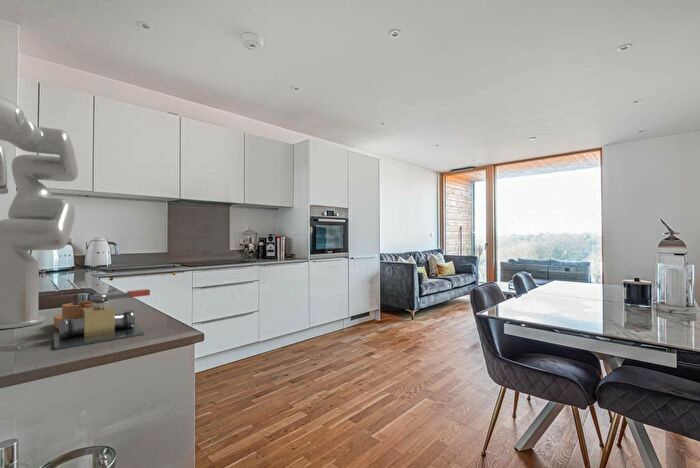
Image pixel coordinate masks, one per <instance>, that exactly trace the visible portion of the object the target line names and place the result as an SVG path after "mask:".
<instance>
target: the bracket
mask: <svg viewBox="0 0 700 468" xmlns="http://www.w3.org/2000/svg"><path fill="white" fill-rule="evenodd" d="M89 307H93V302H91V301H90V300H89V301H87V300H86V301H78V302H77V304H75V305H74V302H70V303H65V304H62V305H61V313H59V314H57V315H53V327H54V328H56V329H58V330H59V321H60V319H64V318H69V319H77V318H83V308H89Z"/></svg>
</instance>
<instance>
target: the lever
mask: <svg viewBox="0 0 700 468" xmlns="http://www.w3.org/2000/svg"><path fill="white" fill-rule="evenodd" d="M89 296H90V299H89V301H91V302H98V301H104V302H105V301H111V300H118V299H119V300H120V299H126V298H127V299H130V298H137V297H145V296H146V297H147V296H151V290H150V289H148V288H147V289H135V290H128V291H125V292H119V293H118V292H117V293H108V294H107V293H97V294H91V295H89Z"/></svg>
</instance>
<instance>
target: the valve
mask: <svg viewBox="0 0 700 468" xmlns="http://www.w3.org/2000/svg"><path fill="white" fill-rule="evenodd" d="M144 332H145V331H143V330H142V329H141V328H140V327H139V326H138V325H137V324H136V315H135V312H134V310H133V309H129V310H125V311H124V312H117V313H116V308H115V307H114V306H113V305H112V304H109V305H105V301H98V302H93V307H89V308H83V318H77V319H69V318H64V319H60V321H59V329H58V332H53V344H54V345H53V347H54V351H55V350H56V351H57V350H62V349H67V348H73V347H80V346H85V345H92V344H97V343H98V344H99V343H104V342H108V341H114V340H119V339H120V340H121V339H127V338H133V337H138V336H139V337H140V336H144V335H145V334H144Z"/></svg>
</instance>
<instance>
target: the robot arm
mask: <svg viewBox="0 0 700 468" xmlns="http://www.w3.org/2000/svg"><path fill="white" fill-rule="evenodd" d="M0 141H4V142H7V143H9V144H11V145H13V146H14V147H16V148H17V149H20V150H22V151H24V152H29V153H35V154H20V155H17V156H15V157H14V158H13V160H12V161H11V172H12V176H13V177H12V178H13V180H14V184H15V186H16V188H17V192H16V193H15V196H14V198H13V200H12V202H11V203H10V205H9V206H10V207H8V208H9V209H8V211H7V217H8V218H7V219H6V218H4V219H0V330H4V329H5V330H6V329H15V328H21V327H28V326H32V325H37V324H40V323H42V322H44V321H45V320H46V317H45V315H39V291H40V290H39V286H40V285H39V282H40V281H39V279H40V278H39V276H40V274H39V273H40V269H39V268H40V265H39V262H38V261H37V260H36V259H35V257H34V256H33V255H32V254H30V252H29V251H56V250H58V251H59V250H61V249H64V248H65V247H66V246H67V244H68V242H69V239H70V236H71V232H72V230H73V225H74V222H75V218H76V217H75V215H76V212H75V207H74V204H73V203H72V202H71V201H70V200H68V199H65V198H58V197H52V195H53V194H52V192H51V190H50V189H49V188H48V187H47V186H46V185H44V184H43V183H42V182H40V181H53V182H73V181H75V180H76V179H77V178H78V174H79V169H78V168H79V167H78V163H77V160H76V155H75V150H74V147H73V143H72V141H71V138H70V136H69V134H68V133H67V132H66V131H64V130H62V129H59V128H51V127H44V126H36V124H34V123H33V122H32V121H30V119H28V118H26V117H25V113H24V111H23V110H22V108H21V107H20V106H19V105H18V104H17V103H15V102H13V101H12V100H10V99H8V98H5V97H2V96H0ZM40 154H47V155H40ZM50 155H51V156H50ZM52 155H58V156H52ZM6 158H7V157H6V154H5V149H4V148H3V147H2V146H0V195H4V194H5V195H6V194H8V193H9V189H8V186H7V185H8V183H7V182H8V172H7V170H8V169H7V159H6ZM39 180H40V181H39Z"/></svg>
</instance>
